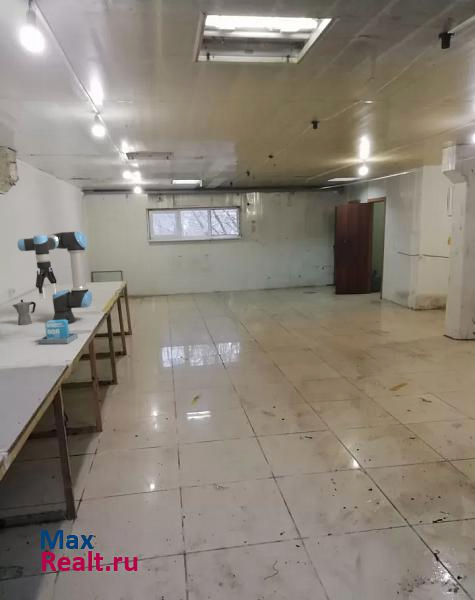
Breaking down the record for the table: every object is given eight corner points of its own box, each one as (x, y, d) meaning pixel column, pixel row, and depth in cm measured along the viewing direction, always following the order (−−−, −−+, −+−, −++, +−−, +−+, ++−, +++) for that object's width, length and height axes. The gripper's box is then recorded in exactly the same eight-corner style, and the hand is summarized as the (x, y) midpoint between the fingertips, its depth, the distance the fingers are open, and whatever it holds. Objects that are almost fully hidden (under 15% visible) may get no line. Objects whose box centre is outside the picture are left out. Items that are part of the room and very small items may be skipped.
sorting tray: (50, 338, 264) (50, 333, 263) (77, 337, 262) (77, 333, 261) (38, 344, 250) (38, 339, 250) (67, 344, 249) (66, 339, 248)
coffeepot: (15, 326, 302) (11, 301, 299) (14, 324, 310) (11, 300, 307) (39, 323, 310) (35, 298, 307) (37, 320, 318) (34, 297, 315)
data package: (47, 341, 253) (44, 322, 251) (49, 339, 258) (46, 320, 255) (68, 340, 255) (65, 320, 252) (69, 338, 259) (67, 319, 257)
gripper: (47, 259, 265) (52, 292, 269) (25, 264, 240) (31, 300, 244) (59, 258, 264) (63, 292, 268) (38, 263, 240) (43, 300, 244)
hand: (48, 296), depth 256 cm, fingers open, 13 cm apart
